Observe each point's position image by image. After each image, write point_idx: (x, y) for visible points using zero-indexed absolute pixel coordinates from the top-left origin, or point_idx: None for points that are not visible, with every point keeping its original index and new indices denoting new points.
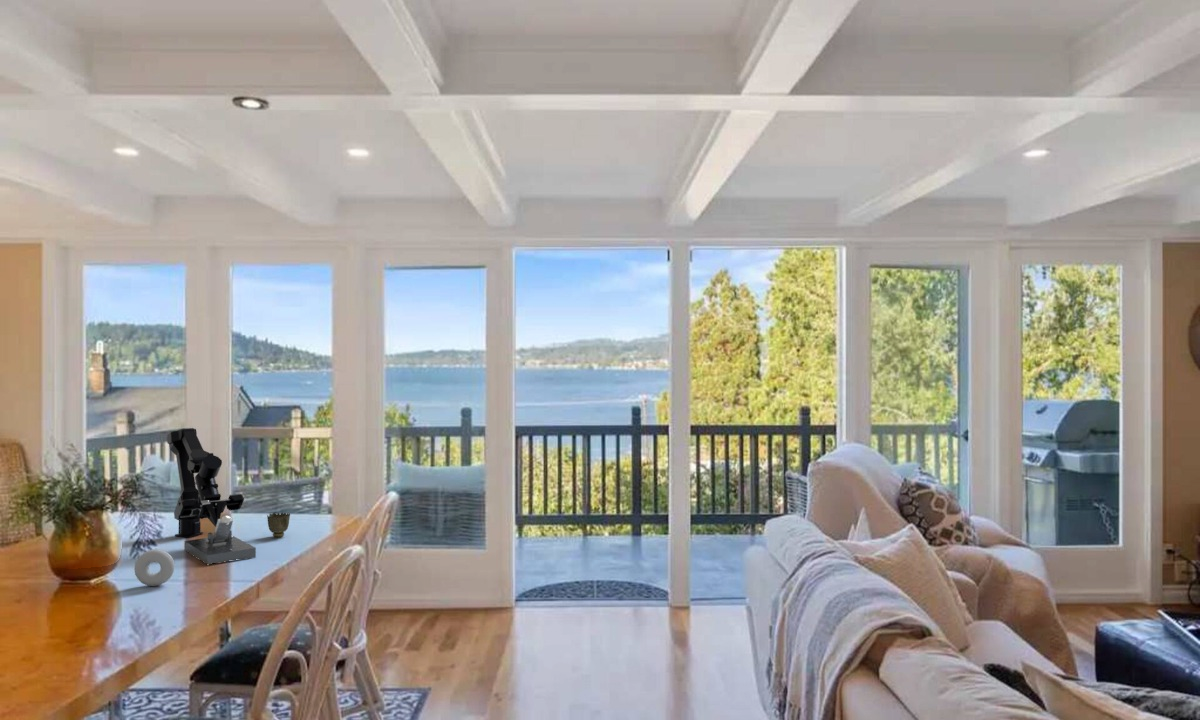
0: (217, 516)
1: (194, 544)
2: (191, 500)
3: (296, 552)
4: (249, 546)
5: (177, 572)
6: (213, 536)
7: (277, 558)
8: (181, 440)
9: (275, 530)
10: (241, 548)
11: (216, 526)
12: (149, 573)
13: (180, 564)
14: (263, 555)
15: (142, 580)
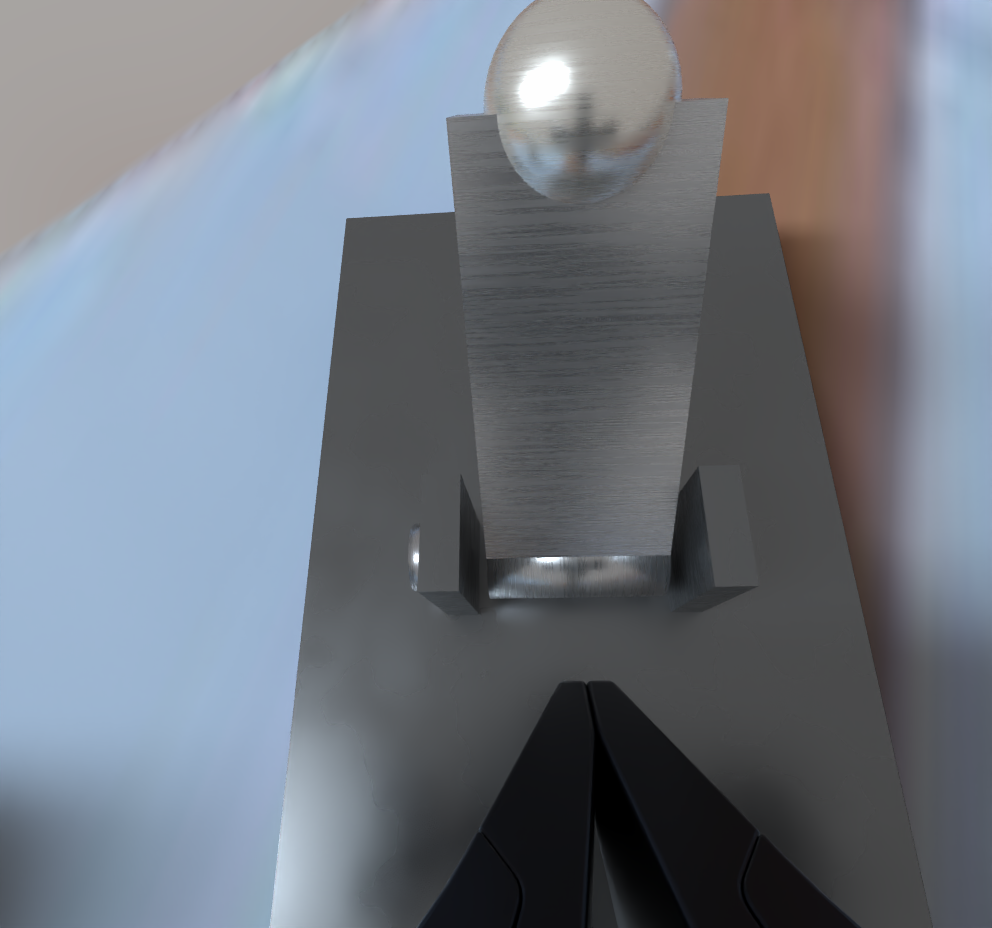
0: (583, 790)
1: (852, 784)
2: None
3: (95, 242)
4: (366, 287)
5: (969, 196)
6: (670, 514)
7: (275, 170)
8: None
9: None
10: (451, 258)
11: (697, 294)
12: None
13: (948, 409)
14: (302, 295)
15: None
